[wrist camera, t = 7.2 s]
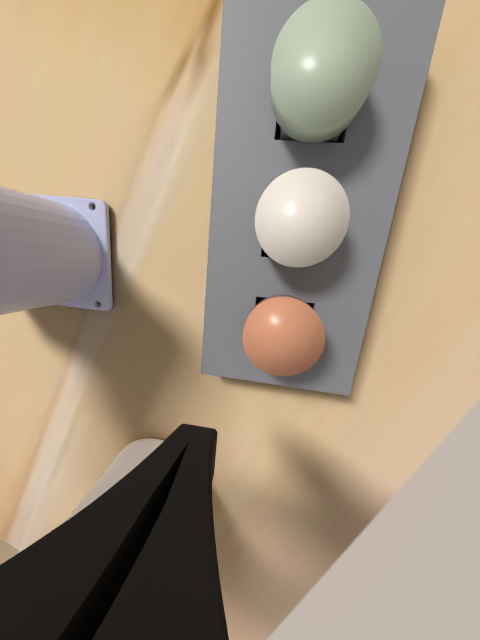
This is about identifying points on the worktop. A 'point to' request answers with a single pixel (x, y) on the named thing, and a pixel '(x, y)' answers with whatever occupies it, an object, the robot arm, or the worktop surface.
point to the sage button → (324, 68)
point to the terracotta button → (283, 335)
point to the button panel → (283, 155)
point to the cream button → (302, 217)
